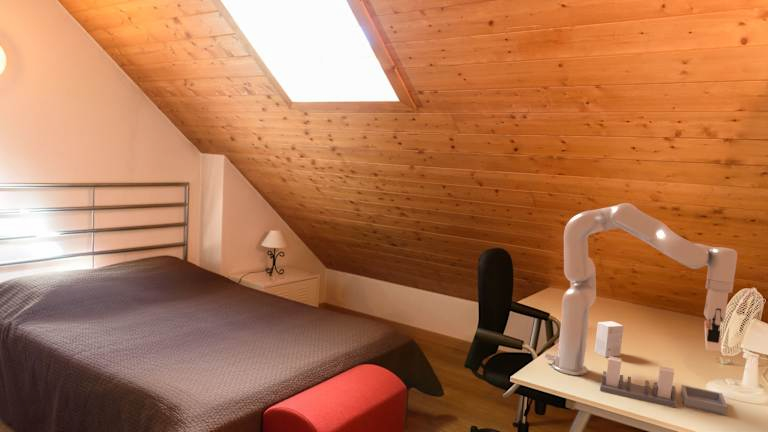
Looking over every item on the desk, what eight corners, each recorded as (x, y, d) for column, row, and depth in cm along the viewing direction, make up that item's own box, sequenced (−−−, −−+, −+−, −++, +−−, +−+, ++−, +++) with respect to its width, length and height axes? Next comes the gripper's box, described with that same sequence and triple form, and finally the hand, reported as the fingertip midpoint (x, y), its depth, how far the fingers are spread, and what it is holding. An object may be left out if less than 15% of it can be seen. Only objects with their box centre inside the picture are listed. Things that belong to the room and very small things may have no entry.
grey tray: (683, 406, 177) (684, 397, 177) (680, 393, 188) (681, 384, 188) (726, 415, 173) (727, 406, 172) (720, 401, 183) (721, 393, 183)
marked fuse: (707, 350, 177) (705, 323, 177) (705, 347, 181) (704, 320, 180) (721, 351, 176) (720, 323, 175) (719, 347, 179) (718, 320, 179)
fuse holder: (599, 390, 185) (603, 361, 184) (601, 380, 194) (604, 352, 193) (675, 407, 176) (679, 376, 175) (673, 396, 185) (677, 367, 184)
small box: (608, 350, 228) (612, 320, 227) (620, 356, 223) (624, 325, 221) (593, 352, 225) (597, 321, 224) (605, 357, 219) (609, 326, 218)
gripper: (703, 279, 185) (696, 331, 187) (709, 288, 170) (701, 344, 172) (728, 282, 182) (721, 335, 184) (737, 292, 167) (729, 349, 169)
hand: (711, 339), depth 178 cm, fingers closed on marked fuse, 4 cm apart
